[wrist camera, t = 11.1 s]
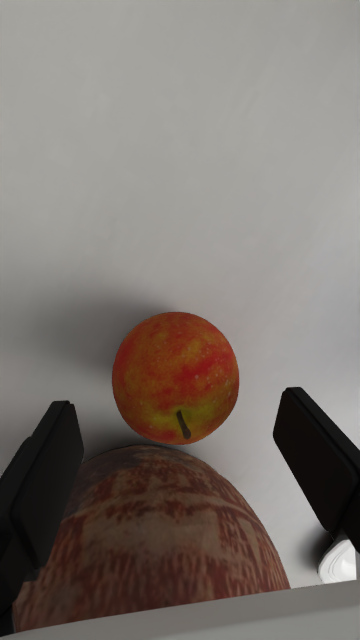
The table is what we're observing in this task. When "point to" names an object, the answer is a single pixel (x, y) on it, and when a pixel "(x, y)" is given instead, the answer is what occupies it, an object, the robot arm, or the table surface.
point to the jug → (149, 541)
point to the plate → (338, 563)
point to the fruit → (175, 378)
